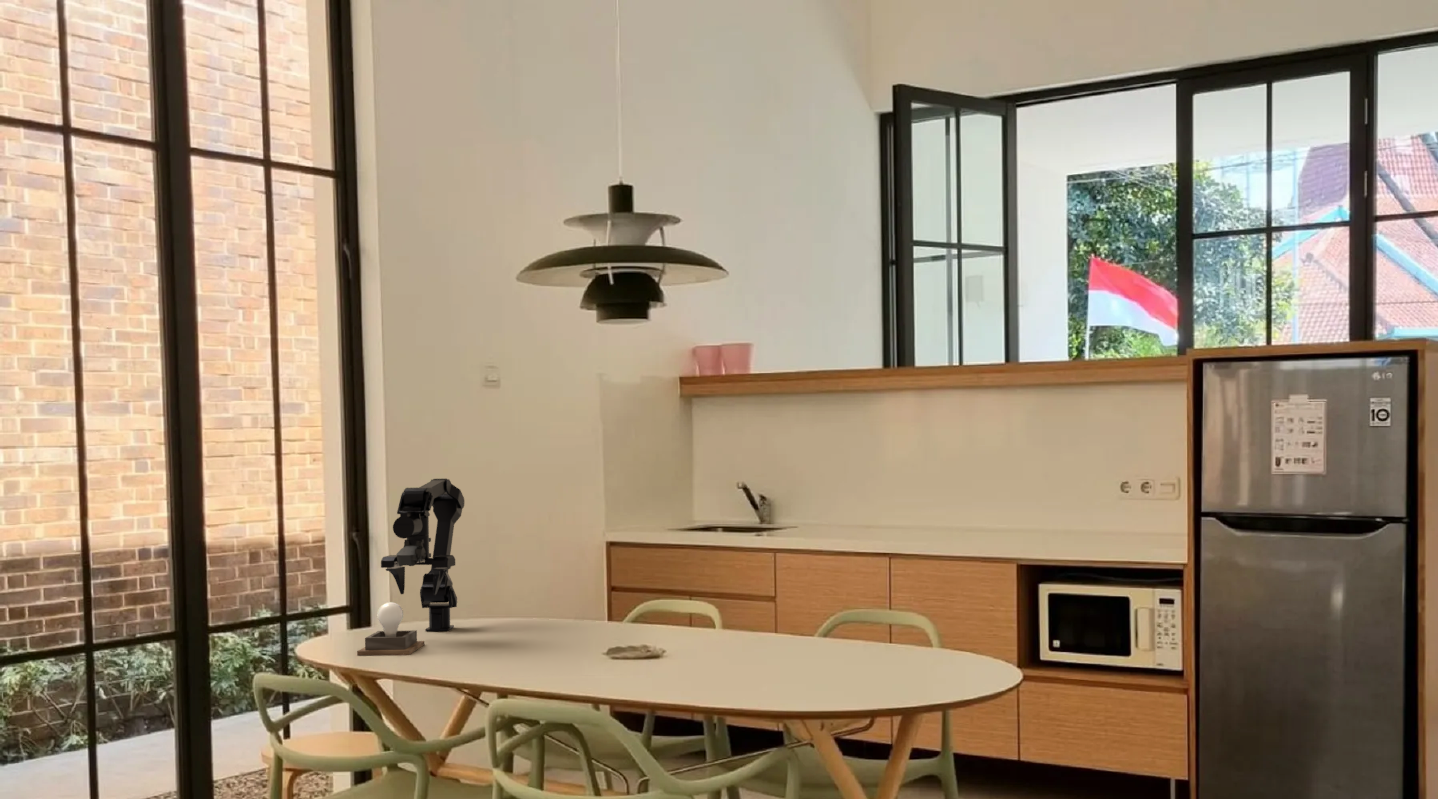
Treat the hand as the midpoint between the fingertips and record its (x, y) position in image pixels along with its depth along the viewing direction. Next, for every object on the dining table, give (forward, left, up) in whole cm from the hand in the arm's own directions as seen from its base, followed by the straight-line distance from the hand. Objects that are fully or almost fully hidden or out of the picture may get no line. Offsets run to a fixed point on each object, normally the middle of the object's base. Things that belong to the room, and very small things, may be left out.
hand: (418, 594), depth 314 cm
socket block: (+14, -3, -12) cm, 19 cm away
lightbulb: (+14, -3, -11) cm, 18 cm away
